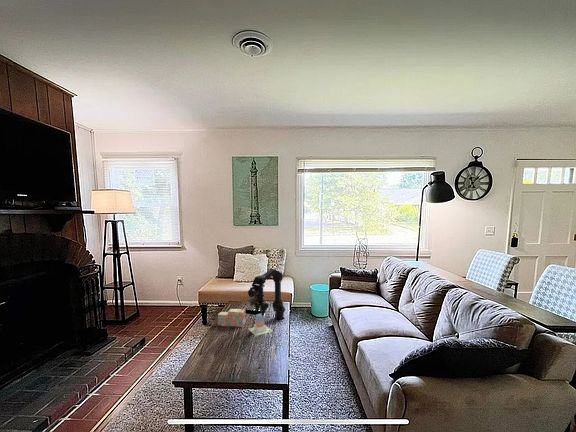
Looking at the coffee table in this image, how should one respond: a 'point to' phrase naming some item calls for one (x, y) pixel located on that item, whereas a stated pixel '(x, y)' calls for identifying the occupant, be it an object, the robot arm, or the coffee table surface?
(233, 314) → the stack of blocks
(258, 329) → the brick cream
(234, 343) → the coffee table surface
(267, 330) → the baseplate
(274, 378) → the coffee table surface
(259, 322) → the brick terracotta
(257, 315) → the brick blue
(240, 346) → the coffee table surface
